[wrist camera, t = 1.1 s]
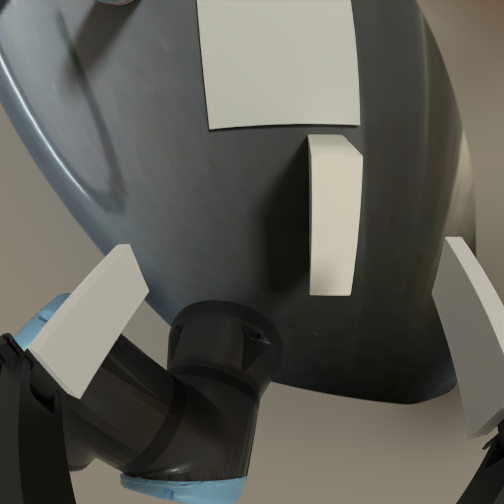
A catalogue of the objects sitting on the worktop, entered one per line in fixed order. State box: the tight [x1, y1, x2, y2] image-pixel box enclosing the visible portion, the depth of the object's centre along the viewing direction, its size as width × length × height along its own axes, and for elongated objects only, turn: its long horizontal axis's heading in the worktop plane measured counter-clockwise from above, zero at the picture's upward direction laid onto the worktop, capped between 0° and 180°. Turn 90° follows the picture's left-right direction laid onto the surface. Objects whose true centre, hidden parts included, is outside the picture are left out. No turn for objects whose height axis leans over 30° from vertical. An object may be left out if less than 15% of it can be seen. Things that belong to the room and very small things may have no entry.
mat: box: [197, 0, 360, 129], centre depth 19 cm, size 16×13×1 cm
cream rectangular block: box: [308, 134, 363, 295], centre depth 22 cm, size 10×3×9 cm, turn 5°
